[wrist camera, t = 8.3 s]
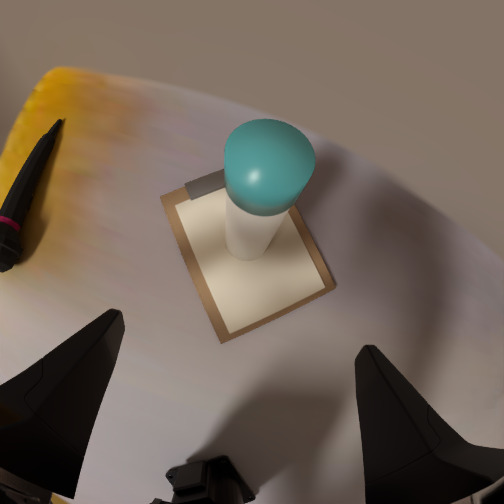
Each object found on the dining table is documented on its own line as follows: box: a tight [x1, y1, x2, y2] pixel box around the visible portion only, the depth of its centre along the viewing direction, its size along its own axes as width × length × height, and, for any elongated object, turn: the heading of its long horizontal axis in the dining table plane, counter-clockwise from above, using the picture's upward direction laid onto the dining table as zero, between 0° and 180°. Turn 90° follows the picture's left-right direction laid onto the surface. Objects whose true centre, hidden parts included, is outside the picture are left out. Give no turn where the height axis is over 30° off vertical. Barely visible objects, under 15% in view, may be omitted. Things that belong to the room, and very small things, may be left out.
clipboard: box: [160, 169, 336, 344], centre depth 23 cm, size 14×11×1 cm
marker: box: [224, 119, 315, 261], centre depth 17 cm, size 4×4×13 cm
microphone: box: [0, 119, 62, 272], centre depth 21 cm, size 6×6×20 cm
